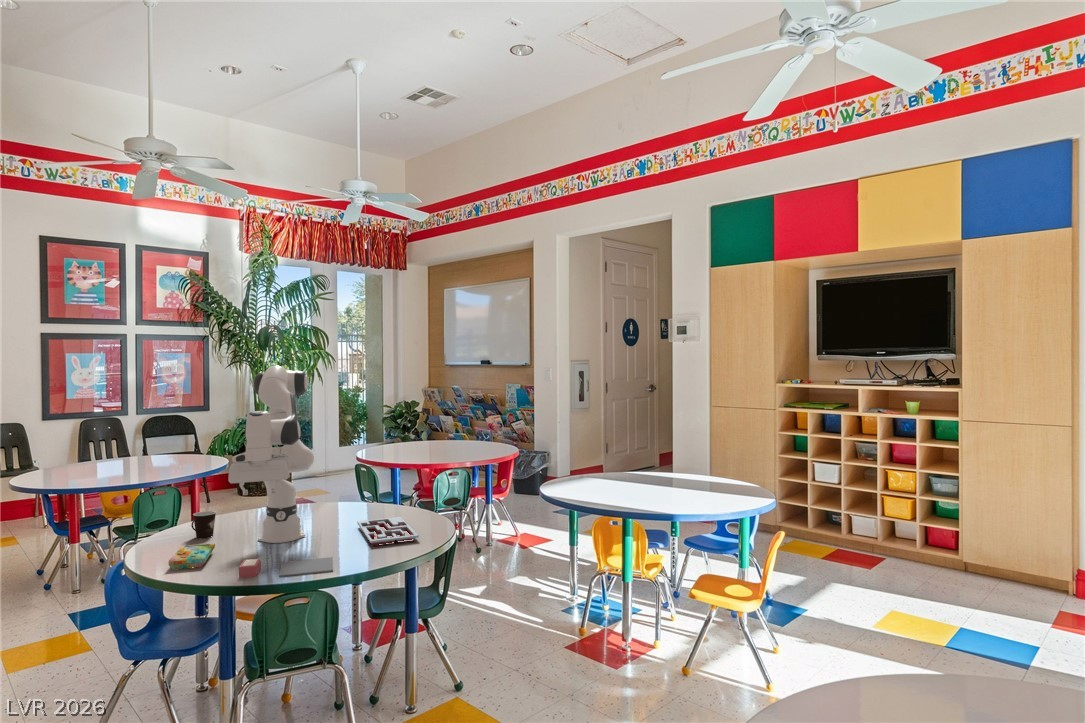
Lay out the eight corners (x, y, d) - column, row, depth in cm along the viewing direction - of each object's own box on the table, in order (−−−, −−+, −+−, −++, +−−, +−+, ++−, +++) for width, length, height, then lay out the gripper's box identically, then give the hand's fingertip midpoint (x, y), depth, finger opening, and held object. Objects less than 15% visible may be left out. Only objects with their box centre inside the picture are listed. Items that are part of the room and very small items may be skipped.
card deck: (244, 570, 234) (244, 559, 234) (260, 569, 235) (260, 558, 235) (239, 578, 226) (239, 566, 226) (256, 577, 227) (256, 565, 227)
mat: (281, 563, 241) (281, 561, 241) (332, 558, 247) (332, 557, 247) (279, 577, 226) (279, 575, 226) (333, 571, 232) (333, 569, 232)
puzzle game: (168, 559, 233) (181, 543, 252) (168, 572, 233) (181, 556, 252) (204, 556, 237) (215, 541, 256) (204, 568, 237) (215, 553, 256)
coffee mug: (209, 532, 285) (209, 510, 285) (219, 535, 280) (219, 512, 280) (182, 538, 275) (182, 515, 275) (192, 542, 270) (192, 518, 270)
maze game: (418, 543, 269) (418, 535, 269) (370, 548, 261) (370, 541, 261) (400, 523, 301) (400, 516, 301) (357, 528, 293) (357, 521, 293)
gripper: (290, 453, 241) (290, 490, 241) (229, 456, 235) (230, 495, 234) (289, 454, 236) (290, 492, 235) (227, 458, 229) (227, 497, 228)
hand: (259, 494), depth 234 cm, fingers open, 8 cm apart
